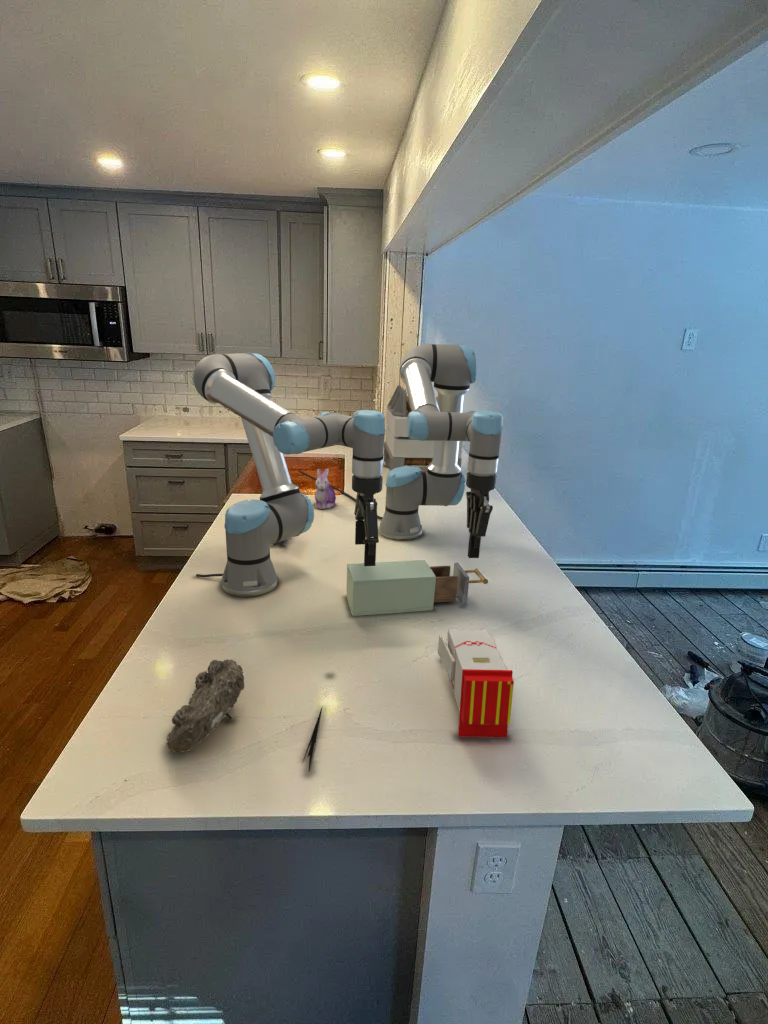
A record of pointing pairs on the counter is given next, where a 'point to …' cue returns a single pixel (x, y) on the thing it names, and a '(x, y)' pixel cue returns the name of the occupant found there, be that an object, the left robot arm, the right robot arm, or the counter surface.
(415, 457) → the transformer
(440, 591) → the drawer
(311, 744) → the feather
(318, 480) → the figurine
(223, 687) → the fossil
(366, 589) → the cabinet
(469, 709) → the toy
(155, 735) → the counter surface
